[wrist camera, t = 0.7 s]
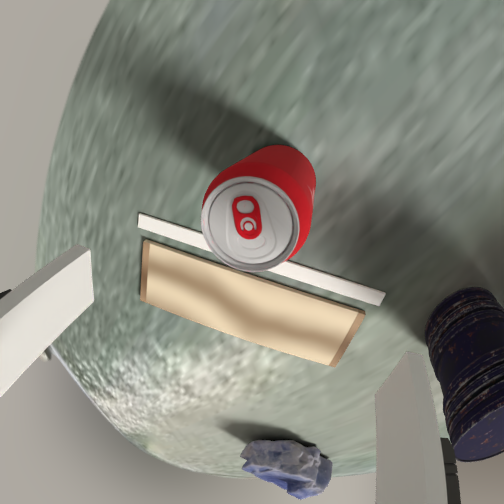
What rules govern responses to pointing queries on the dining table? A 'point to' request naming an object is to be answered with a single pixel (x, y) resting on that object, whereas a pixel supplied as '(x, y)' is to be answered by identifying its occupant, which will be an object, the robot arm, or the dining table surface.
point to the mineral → (288, 466)
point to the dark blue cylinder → (470, 370)
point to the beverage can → (260, 209)
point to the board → (247, 305)
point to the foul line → (283, 269)
